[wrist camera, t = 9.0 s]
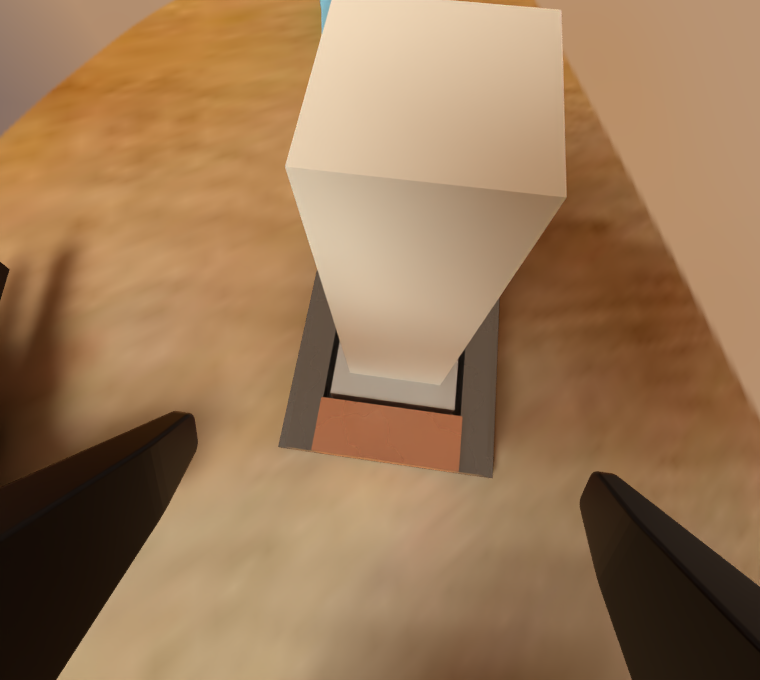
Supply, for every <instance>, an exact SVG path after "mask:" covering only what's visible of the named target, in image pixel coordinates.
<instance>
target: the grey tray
mask: <svg viewBox="0 0 760 680" xmlns="http://www.w3.org/2000/svg"><path fill="white" fill-rule="evenodd" d="M499 298H500V297H499ZM498 324H499V299H498V300H497V302H496V303H495V305H494V306H493V308H492V309H491V310H490V312H489V313H488V315H487V316H486V318H485V319H484V321H483V322H482V324H481V325H480V327H479V328H478V330H477V331H476V333H475V334H474V336H473V337H472V339H471V340H470V342H469V343H468V345H467V346H466V348H465V349H464V351H463V352H462V353H461V355H460V356H459V358H458V369H457V383H456V396H455V410H454V411H453V412H452V413H450V414H449V415H448V414H441V413H434V412H427V411H420V410H412V409H405V408H398V407H391V406H384V405H376V404H369V403H362V402H355V401H347V400H340V399H334V398H333V396H332V395H331V393H330V392H331V387H332V381H333V376H334V370H335V365H336V360H337V354H338V349H339V343H340V340H339V336H338V333H337V330H336V327H335V324H334V321H333V317H332V314H331V311H330V308H329V305H328V301H327V298H326V295H325V292H324V289H323V286H322V282H321V279H320V276H319V273H318V270H317V273H316V277H315V282H314V286H313V291H312V295H311V300H310V304H309V309H308V314H307V318H306V323H305V327H304V332H303V336H302V341H301V346H300V350H299V355H298V359H297V364H296V368H295V373H294V377H293V382H292V387H291V391H290V396H289V400H288V405H287V409H286V414H285V418H284V423H283V428H282V432H281V437H280V441H279V446H278V447H281V448H287V449H294V450H301V451H308V452H315V453H322V454H328V455H335V456H342V457H349V458H356V459H363V460H370V461H376V462H383V463H390V464H397V465H404V466H411V467H417V468H424V469H431V470H438V471H445V472H452V473H459V474H465V475H472V476H479V477H486V478H493V452H494V427H495V401H496V375H497V350H498Z"/></svg>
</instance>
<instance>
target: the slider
mask: <svg viewBox="0 0 760 680" xmlns="http://www.w3.org/2000/svg"><path fill="white" fill-rule="evenodd" d="M285 168H286V171H287V174H288V178H289V181H290V184H291V187H292V190H293V193H294V197H295V200H296V203H297V206H298V209H299V213H300V216H301V219H302V222H303V225H304V228H305V232H306V235H307V238H308V241H309V244H310V247H311V251H312V254H313V257H314V260H315V263H316V267H317V270H318V273H319V276H320V279H321V282H322V286H323V289H324V292H325V295H326V298H327V301H328V305H329V308H330V311H331V314H332V317H333V321H334V324H335V327H336V330H337V333H338V336H339V340H340V343H339V349H338V354H337V360H336V365H335V370H334V376H333V381H332V387H331V392H330V393H331V395H332V396H333V398H334V399H340V400H347V401H355V402H362V403H369V404H376V405H384V406H391V407H398V408H405V409H412V410H420V411H427V412H434V413H441V414H448V415H449V414H450V413H452V412H453V411H454V410H455V396H456V383H457V369H458V358H459V356H460V355H461V353H462V352H463V351H464V349H465V348H466V346H467V345H468V343H469V342H470V340H471V339H472V337H473V336H474V334H475V333H476V331H477V330H478V328H479V327H480V325H481V324H482V322H483V321H484V319H485V318H486V316H487V315H488V313H489V312H490V310H491V309H492V308H493V306H494V305H495V303H496V302H497V300H498V299H499V297H500V296H501V294H502V293H503V291H504V290H505V288H506V287H507V285H508V284H509V282H510V281H511V279H512V278H513V276H514V275H515V273H516V272H517V270H518V269H519V267H520V266H521V265H522V263H523V262H524V260H525V259H526V257H527V256H528V254H529V253H530V251H531V250H532V248H533V247H534V245H535V244H536V242H537V241H538V239H539V238H540V236H541V235H542V233H543V232H544V230H545V229H546V227H547V226H548V224H549V223H550V222H551V220H552V219H553V217H554V216H555V214H556V213H557V211H558V210H559V208H560V207H561V205H562V204H563V202H564V201H565V199H566V198H567V189H566V153H565V117H564V82H563V46H562V11H561V10H557V9H545V8H534V7H522V6H510V5H499V4H487V3H475V2H464V1H452V0H331V4H330V7H329V11H328V15H327V18H326V22H325V25H324V29H323V33H322V36H321V40H320V43H319V47H318V50H317V54H316V58H315V61H314V65H313V68H312V72H311V76H310V79H309V83H308V86H307V90H306V93H305V97H304V101H303V104H302V108H301V111H300V115H299V119H298V122H297V126H296V129H295V133H294V136H293V140H292V144H291V147H290V151H289V154H288V158H287V161H286V165H285Z"/></svg>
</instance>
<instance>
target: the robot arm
mask: <svg viewBox="0 0 760 680" xmlns="http://www.w3.org/2000/svg"><path fill="white" fill-rule="evenodd" d="M197 445H198V439H197V432H196V425H195V418H194V416H193V415H192V414H191V413H186V412H179V411H173V412H171V413H168V414H166V415H164V416H162V417H159V418H157V419H155V420H152V421H150V422H148V423H146V424H143V425H141V426H139V427H137V428H134V429H132V430H130V431H128V432H125V433H123V434H121V435H118V436H116V437H114V438H112V439H109V440H107V441H105V442H103V443H100V444H98V445H96V446H94V447H91V448H89V449H87V450H84V451H82V452H80V453H78V454H75V455H73V456H71V457H69V458H66V459H64V460H62V461H59V462H57V463H55V464H53V465H50V466H48V467H46V468H44V469H41V470H39V471H37V472H35V473H32V474H30V475H28V476H25V477H23V478H21V479H19V480H16V481H14V482H12V483H10V484H7V485H5V486H3V487H1V488H0V680H56V679H57V678H58V676H59V675H60V673H61V672H62V670H63V669H64V667H65V665H66V664H67V662H68V661H69V659H70V658H71V656H72V655H73V653H74V652H75V650H76V648H77V647H78V645H79V644H80V642H81V641H82V639H83V638H84V636H85V635H86V633H87V631H88V630H89V628H90V627H91V625H92V624H93V622H94V621H95V619H96V618H97V616H98V614H99V613H100V611H101V610H102V608H103V607H104V605H105V604H106V602H107V601H108V599H109V597H110V596H111V594H112V593H113V591H114V590H115V588H116V587H117V585H118V584H119V582H120V580H121V579H122V577H123V576H124V574H125V573H126V571H127V570H128V568H129V567H130V565H131V563H132V562H133V560H134V559H135V557H136V556H137V554H138V553H139V551H140V550H141V548H142V546H143V545H144V543H145V542H146V540H147V539H148V537H149V536H150V534H151V533H152V531H153V529H154V528H155V526H156V525H157V523H158V522H159V520H160V518H161V517H162V515H163V514H164V512H165V510H166V508H167V506H168V505H169V503H170V501H171V499H172V497H173V495H174V493H175V491H176V489H177V487H178V485H179V483H180V481H181V479H182V477H183V475H184V474H185V472H186V470H187V468H188V466H189V464H190V462H191V460H192V458H193V456H194V454H195V452H196V449H197ZM580 510H581V515H582V519H583V523H584V527H585V531H586V535H587V540H588V544H589V548H590V552H591V556H592V560H593V564H594V569H595V572H596V576H597V580H598V583H599V586H600V589H601V592H602V595H603V598H604V601H605V604H606V607H607V609H608V612H609V615H610V618H611V621H612V624H613V627H614V630H615V632H616V635H617V638H618V641H619V644H620V647H621V650H622V652H623V655H624V658H625V661H626V664H627V667H628V670H629V673H630V675H631V678H632V680H760V587H759V586H758V585H757V584H756V583H754V582H753V581H752V580H750V579H749V578H748V577H747V576H745V575H744V574H743V573H741V572H740V571H739V570H738V569H736V568H735V567H734V566H732V565H731V564H730V563H729V562H727V561H726V560H725V559H723V558H722V557H721V556H720V555H718V554H717V553H716V552H714V551H713V550H712V549H711V548H709V547H708V546H707V545H705V544H704V543H703V542H702V541H700V540H699V539H698V538H696V537H695V536H694V535H693V534H691V533H690V532H689V531H687V530H686V529H685V528H684V527H682V526H681V525H680V524H678V523H677V522H676V521H675V520H673V519H672V518H671V517H669V516H668V515H667V514H666V513H664V512H663V511H662V510H660V509H659V508H658V507H657V506H655V505H654V504H653V503H651V502H650V501H649V500H648V499H646V498H645V497H644V496H642V495H641V494H640V493H639V492H637V491H636V490H635V489H633V488H632V487H631V486H630V485H628V484H627V483H626V482H624V481H623V480H622V479H621V478H619V477H618V476H617V475H615V474H612V473H606V472H599V471H596V472H593V473H592V474H591V476H590V478H589V480H588V482H587V484H586V487H585V489H584V491H583V493H582V496H581V498H580Z"/></svg>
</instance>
